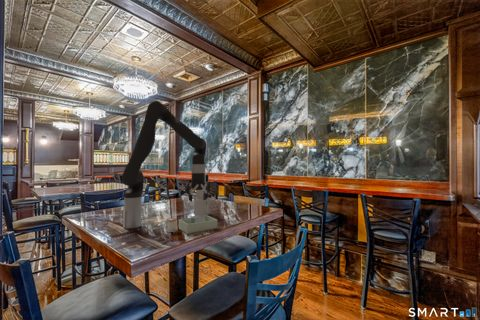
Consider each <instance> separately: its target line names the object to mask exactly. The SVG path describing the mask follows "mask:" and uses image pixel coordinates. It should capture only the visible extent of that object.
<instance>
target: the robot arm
mask: <svg viewBox="0 0 480 320" xmlns="http://www.w3.org/2000/svg"><path fill="white" fill-rule="evenodd" d="M143 120H144V121H143V123H142V126H141V128H140V131H139V134H138V136H137V139H136V142H135V143H134V148H133V150H132V152H131V154H130V155H131V156H130V158H129V160H128V162H127V165H126V167H125V169H124V171H123V172H122V174H121V182H122V184H123V185H124V186H126V187H127V189H126V191H125V192H124V195H123V211H122V212H123V213H122V227H123V229H125V230H126V229H128V230H129V229H136V228H140V227H141V226H142V201H143V200H142V195H143V192H144V183H145V182H144V181H145V180H144V179H145V177H144V173H143V172H142V171H141V167H142V165H143V162H145V160H146V159H147V158H148V156H149V155H150V154H151V152H152V149H154V148H153V147H154V145H155V141H156V126H157V124H158V122H159V121H158V120H161V121H162V122H164V123H165V124H167V125H168V126H169V127H170V128H171V129H172V130H173V131H174V133H176V134H177V135H178V136H179V137H180V138H181V139H183V140H184V141H185V142H187V144H188V145H189V146H190V147H191V148H193V149H194V153H193V154H192V156H191V157H192V159H191V160H192V161H191V162H192V163H191V182H186V183H185V189H184V190H185V194H187V195H188V201H189V202H192V203H193V194H194V192H195V191H196V190H202V191H203V200H206V199H207V193H208V192H209V193H210V192H211V184H210V181H209V182H205V174H206V166H205V165H206V164H205V159H206V158H205V156H206V151H207V150H206V149H207V142H206V140H205V139H204V138H202V137H200V136H198V135H197V134H196V133H195V132H194V130H192V129H191V128H190V127H188V126H187V125H186V124H185V123H183V122H182V121H181V120H180V119H178V118H177V117H176V116H175V115H174V114H173V113H172V112H171V111H170V110H169V109H168V107H167V106H166V105H165V104H163V103H162V102H161V101H159V100H152V101H151V102H150V103H149V104H148V106H147V108H146V112H145V116H144V119H143ZM205 185H206V189H205V188H204V186H205ZM190 187H191V188H190Z"/></svg>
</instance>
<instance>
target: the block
mask: <svg viewBox="0 0 480 320" xmlns="http://www.w3.org/2000/svg"><path fill="white" fill-rule="evenodd" d="M190 218H191V224H192V223H198V222H205V217H204V216H201V215H198V216H195V215H191V216H190Z"/></svg>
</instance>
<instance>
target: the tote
mask: <svg viewBox="0 0 480 320" xmlns="http://www.w3.org/2000/svg"><path fill="white" fill-rule="evenodd" d="M204 217H205V222H198V223H192V224H191V217H187V218H180V219H178V229H179V230H180V231H182V232H184V233H185V234H186V235H190V234H196V233H197V234H198V233H201V232H206V231H211V230H212V231H213V230H217V229H218V224H219V223H218V219H217V218H214V217H212V216H210V215H206V216H204Z"/></svg>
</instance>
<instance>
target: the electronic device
mask: <svg viewBox="0 0 480 320" xmlns="http://www.w3.org/2000/svg"><path fill="white" fill-rule="evenodd" d="M209 177H210V175H209V173H205V182H210V181H209V180H210V179H209ZM204 188H205V189H206V185H205V186H204ZM195 191H196V192H195V193H196V194H195V196H196V198H195V203H194V210H193V216H198V215H201V216H209V215H210V198H209V193H210V192H208V193H207V199H206V200H203V191H202V190H195Z"/></svg>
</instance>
